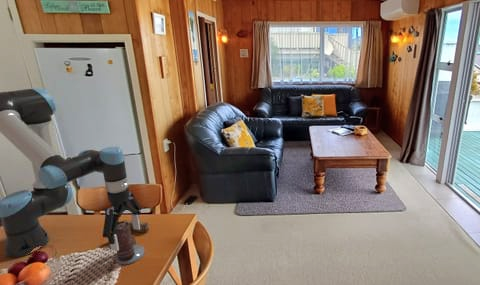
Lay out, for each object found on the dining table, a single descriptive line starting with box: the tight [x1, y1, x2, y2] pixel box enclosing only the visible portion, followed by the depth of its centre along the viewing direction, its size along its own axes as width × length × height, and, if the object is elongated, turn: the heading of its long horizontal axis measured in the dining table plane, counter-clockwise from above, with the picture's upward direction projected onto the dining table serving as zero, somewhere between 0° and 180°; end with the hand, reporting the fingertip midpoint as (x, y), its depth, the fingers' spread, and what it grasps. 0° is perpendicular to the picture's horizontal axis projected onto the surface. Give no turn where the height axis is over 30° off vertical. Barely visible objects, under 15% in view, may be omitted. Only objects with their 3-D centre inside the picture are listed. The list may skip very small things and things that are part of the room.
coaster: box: [114, 244, 146, 266], centre depth 115 cm, size 11×11×1 cm
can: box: [115, 220, 135, 261], centre depth 111 cm, size 6×6×14 cm
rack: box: [107, 220, 150, 245], centre depth 126 cm, size 12×12×4 cm
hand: (126, 238), depth 113 cm, fingers open, 13 cm apart
